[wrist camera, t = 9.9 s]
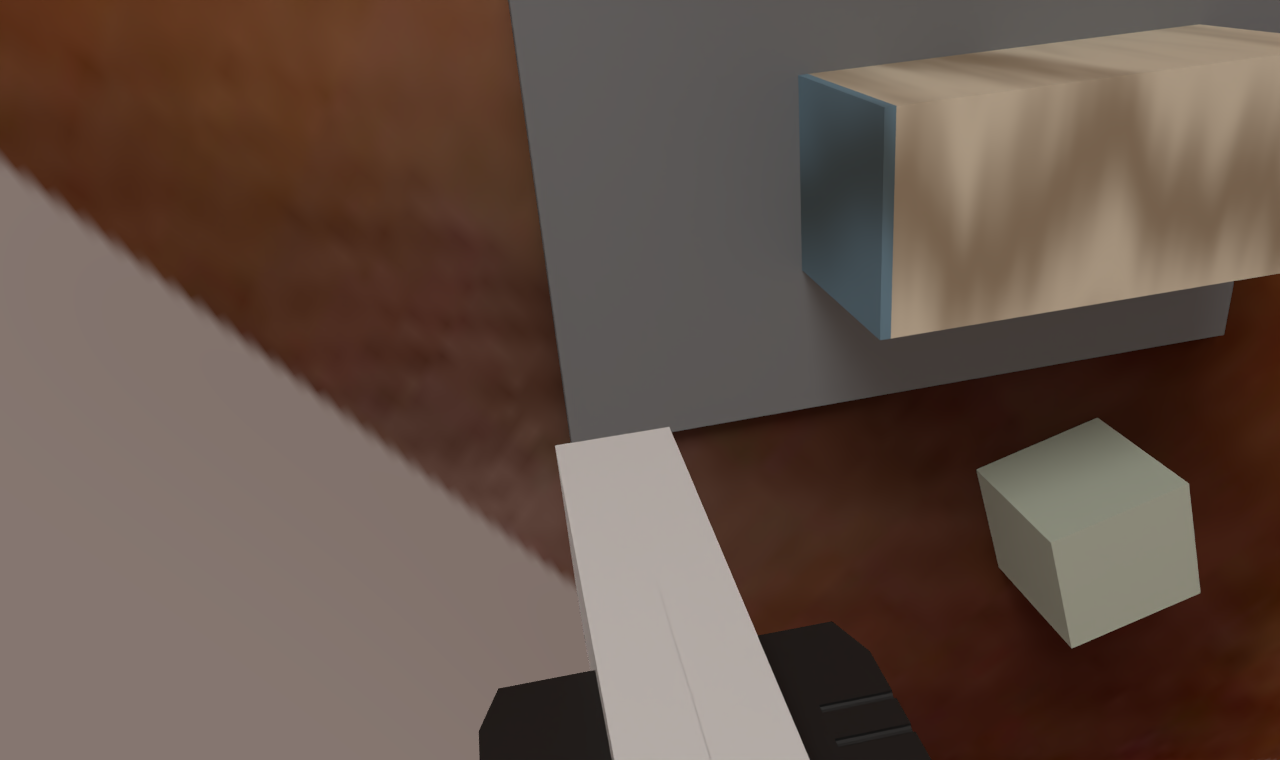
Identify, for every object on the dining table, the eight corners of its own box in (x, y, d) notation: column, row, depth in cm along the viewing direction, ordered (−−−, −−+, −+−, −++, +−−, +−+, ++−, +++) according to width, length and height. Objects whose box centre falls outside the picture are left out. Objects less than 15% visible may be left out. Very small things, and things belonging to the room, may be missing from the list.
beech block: (884, 107, 23) (1367, 43, 24) (798, 75, 28) (1199, 24, 30) (880, 340, 25) (1316, 267, 27) (801, 269, 30) (1170, 212, 32)
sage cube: (975, 468, 36) (1051, 542, 32) (1096, 416, 36) (1188, 483, 32) (997, 566, 38) (1071, 648, 34) (1111, 517, 38) (1200, 592, 34)
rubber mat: (495, -88, 25) (497, -89, 25) (1302, -168, 28) (1318, -169, 28) (570, 441, 32) (572, 449, 32) (1211, 328, 35) (1224, 334, 35)
